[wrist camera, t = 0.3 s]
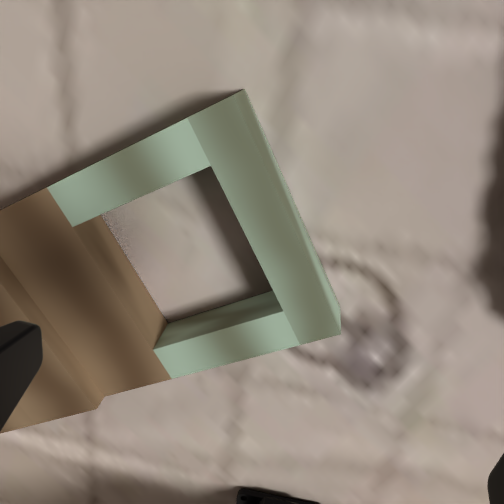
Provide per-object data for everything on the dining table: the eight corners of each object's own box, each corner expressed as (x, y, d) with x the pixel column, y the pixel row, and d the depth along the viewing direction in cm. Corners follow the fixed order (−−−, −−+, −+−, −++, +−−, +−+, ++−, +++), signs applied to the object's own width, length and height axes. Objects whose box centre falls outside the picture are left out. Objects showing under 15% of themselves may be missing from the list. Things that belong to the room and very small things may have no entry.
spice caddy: (-32, 412, 33) (-69, 450, 30) (-149, 283, 29) (-206, 312, 26) (339, 306, 23) (341, 346, 20) (244, 89, 19) (228, 97, 16)
